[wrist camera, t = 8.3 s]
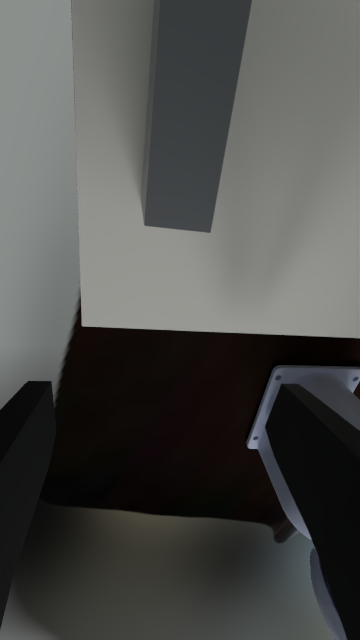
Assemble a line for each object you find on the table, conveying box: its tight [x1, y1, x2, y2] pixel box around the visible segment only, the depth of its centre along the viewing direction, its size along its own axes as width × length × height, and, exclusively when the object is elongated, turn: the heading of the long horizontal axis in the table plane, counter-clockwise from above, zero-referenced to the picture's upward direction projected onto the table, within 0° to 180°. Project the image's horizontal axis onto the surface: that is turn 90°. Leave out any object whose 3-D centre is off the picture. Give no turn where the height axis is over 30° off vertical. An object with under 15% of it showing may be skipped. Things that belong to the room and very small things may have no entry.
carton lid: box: [71, 0, 360, 338], centre depth 8 cm, size 14×14×4 cm
